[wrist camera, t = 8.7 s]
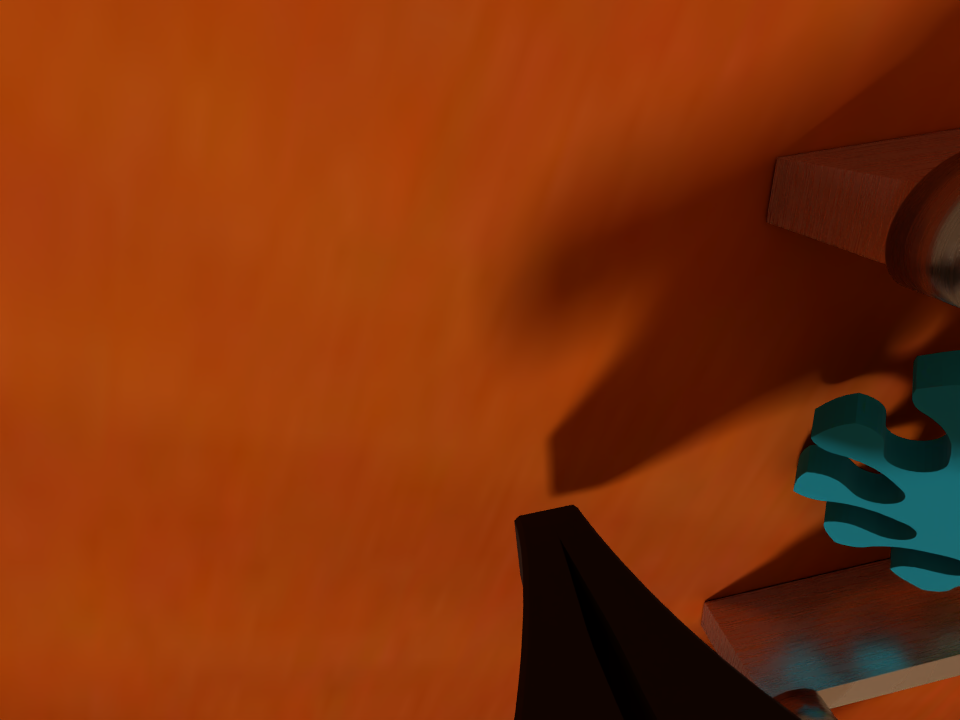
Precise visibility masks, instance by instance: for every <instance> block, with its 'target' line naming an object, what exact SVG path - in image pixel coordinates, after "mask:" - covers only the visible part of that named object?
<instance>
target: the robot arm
mask: <svg viewBox="0 0 960 720" xmlns="http://www.w3.org/2000/svg"><path fill="white" fill-rule="evenodd" d="M515 530H516V540H517V549H518V558H519V567H520V575H521V580H522V584H523V629H522V648H521V662H520V674H519V684H518V693H517V702H516V710H515V718H514V720H802V719H801V718H799V717H798V716H797V715H795V714H794V713H792V712H791V711H790V710H788V709H787V708H786V707H784V706H783V705H782V704H780V703H779V702H778V701H776V700H775V699H774V698H772V697H771V696H769V695H768V694H767V693H765V692H764V691H763V690H761V689H760V688H759V687H758V686H756V685H755V684H754V683H753V682H751V681H750V680H749V679H748V678H746V677H745V676H744V675H743V674H741V673H740V672H739V671H738V670H736V669H735V668H734V667H733V666H731V665H730V664H729V663H728V662H727V661H725V660H724V659H723V658H722V657H721V656H720V655H718V654H717V653H716V652H715V651H714V650H712V649H711V648H710V647H709V646H708V645H707V644H705V643H704V642H703V641H702V640H701V639H700V638H699V637H698V636H696V635H695V634H694V633H693V632H692V631H691V630H690V629H689V628H688V627H687V626H685V625H684V624H683V623H682V622H681V621H680V620H679V619H678V618H677V617H676V616H675V615H674V614H673V613H672V612H671V611H670V610H669V609H668V608H666V607H665V606H664V605H663V604H662V603H661V602H660V601H659V600H658V599H657V598H656V597H655V596H654V595H653V594H652V593H651V592H650V591H649V590H648V589H647V588H646V587H645V586H644V585H643V583H642V582H641V581H640V580H639V579H638V578H637V577H636V576H635V575H634V574H633V573H632V572H631V571H630V570H629V569H628V568H627V567H626V565H625V564H624V563H623V562H622V561H621V560H620V559H619V558H618V557H617V556H616V554H615V553H614V552H613V551H612V550H611V549H610V547H609V546H608V545H607V544H606V543H605V542H604V541H603V539H602V538H601V537H600V536H599V535H598V533H597V532H596V531H595V530H594V528H593V527H592V526H591V525H590V523H589V522H588V521H587V520H586V518H585V517H584V516H583V514H582V513H581V512H580V510H579V509H578V508H577V507H576V506H574V505H569V506H564V507H559V508H555V509H550V510H545V511H540V512H535V513H531V514H526V515H521V516H519V517H518V518H517V519H516V520H515Z"/></svg>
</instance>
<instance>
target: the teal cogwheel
mask: <svg viewBox="0 0 960 720" xmlns="http://www.w3.org/2000/svg"><path fill="white" fill-rule="evenodd" d="M912 401H913V403H914V406H915V407H916V408H917V409H918V410H919V411H921V412H922V413H924V414H926V415H927V416H929V417H930V418H932V419H933V420H934V421H935V422H937V423H938V424H939V425H940V426H941V427H942V428H943V429H944V431H945V432H946V433H947V434H945V435H944V436H943V437H941V438H938V439H934V440H928V441H916V440H909V439H905V438H901V437H899V436H896V435H894V434H893V433H891V432H890V431H889V430H888V429H887V427H886V409H885V407H884V406H883V405H882V404H881V403H880V402H879V401H878V400H876V399H874V398H872V397H870V396H868V395H864V394H861V393H855V394H850V395H845V396H842V397H839V398H836V399H834V400H831V401H829V402H827V403H825V404H823V405H822V406H820V407H818V408H816V409H815V413H814V420H813V426H812V433H811V439H812V440H813V442H814V443H815V444H816V445H810V446H808V447H807V448H805V449H804V451H803V452H802V453H801V455H800V457H799V461H798V466H797V472H796V478H795V484H794V491H795V492H796V493H798V494H800V495H802V496H805V497H808V498H811V499H815V500H820V501H827V503H826V511H825V519H824V528H825V530H826V532H827V533H828V535H829V536H830V537H831V538H832V539H833V541H834V542H836V543H839V544H842V545H847V546H852V547H870V546H889V547H891V562H890V570H892V571H893V572H894V573H895V574H896V575H898V576H899V577H900V578H902V579H904V580H905V581H907V582H909V583H911V584H913V585H914V586H916V587H918V588H920V589H922V590H927V591H936V592H942V591H949V590H951V589H953V588H955V587H958V586H960V350H957V351H948V352H940V353H933V354H927V355H921V356H917V357H916V359H915V360H914V364H913V388H912ZM849 458H851V459H853V460H856V461H859V462H861V463H864V464H866V465H868V466H870V467H872V468H874V469H876V470H877V471H879V472H881V473H882V474H875V473H871V472H868V471H865V470H863V469H861V468H859V467H858V466H856V465H855V464H854V463H853V462H852V461H851V460H850V459H849ZM883 474H884V475H883Z"/></svg>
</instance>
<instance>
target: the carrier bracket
mask: <svg viewBox="0 0 960 720" xmlns="http://www.w3.org/2000/svg"><path fill="white" fill-rule="evenodd" d="M766 222H767V223H770V224H773V225H776V226H779V227H781V228H784V229H787V230H790V231H793V232H796V233H798V234H801V235H804V236H807V237H810V238H813V239H815V240H818V241H821V242H824V243H827V244H829V245H832V246H835V247H838V248H841V249H844V250H846V251H849V252H852V253H855V254H858V255H861V256H863V257H866V258H869V259H872V260H875V261H878V262H880V263H883V264H886V265H887V268H888V271H889V273H890V275H891V276H892V278H893V279H894V280H895V281H896V282H897V283H899V284H900V285H902V286H904V287H907V288H909V289H912V290H914V291H917V292H920V293H922V294H925V295H927V296H930V297H933V298H935V299H938V300H940V301H943V302H946V303H948V304H951V305H953V306H956V307H959V308H960V129H954V130H947V131H941V132H935V133H929V134H922V135H916V136H910V137H904V138H897V139H891V140H885V141H878V142H872V143H866V144H860V145H853V146H847V147H841V148H835V149H828V150H822V151H816V152H809V153H803V154H797V155H791V156H784V157H778V158H777V159H776V165H775V171H774V178H773V184H772V190H771V196H770V202H769V208H768V215H767V221H766ZM890 562H891V559H887V560H883V561H878V562H874V563H870V564H866V565H861V566H857V567H853V568H849V569H844V570H840V571H836V572H832V573H827V574H823V575H819V576H815V577H810V578H806V579H802V580H798V581H793V582H789V583H785V584H781V585H776V586H772V587H768V588H764V589H759V590H755V591H751V592H747V593H742V594H738V595H734V596H730V597H725V598H721V599H717V600H713V601H708V602H705V604H704V610H703V616H702V622H701V626H702V628H703V630H704V631H705V633H706V635H707V636H708V638H709V640H710V642H711V643H712V645H713V647H714V648H715V650H716V652H717V654H718V655H720V656H721V657H722V658H723V659H724V660H725V661H727V662H728V663H729V664H730V665H731V666H733V667H734V668H735V669H736V670H738V671H739V672H740V673H741V674H743V675H744V676H745V677H746V678H748V679H749V680H750V681H751V682H753V683H754V684H755V685H756V686H758V687H759V688H760V689H761V690H763V691H764V692H765V693H767V694H768V695H769V696H771V697H772V698H774V699H775V700H776V701H778V702H779V703H780V704H782V705H783V706H784V707H786V708H787V709H788V710H790V711H791V712H792V713H794V714H795V715H797V716H798V717H799V718H801V719H802V720H837V719H836V717H835V716H834V714H833V713H832V712H831V710H830V709H831V708H835V707H839V706H843V705H846V704H850V703H854V702H858V701H862V700H866V699H870V698H873V697H877V696H881V695H885V694H889V693H893V692H896V691H900V690H904V689H908V688H912V687H916V686H920V685H923V684H927V683H931V682H935V681H939V680H943V679H946V678H950V677H954V676H958V675H960V586H958V587H955V588H953V589H951V590H949V591H942V592H936V591H927V590H922V589H920V588H918V587H916V586H914V585H913V584H911V583H909V582H907V581H905V580H904V579H902V578H900V577H899V576H898V575H896V574H895V573H894V572H893V571H892V570H890Z"/></svg>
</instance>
